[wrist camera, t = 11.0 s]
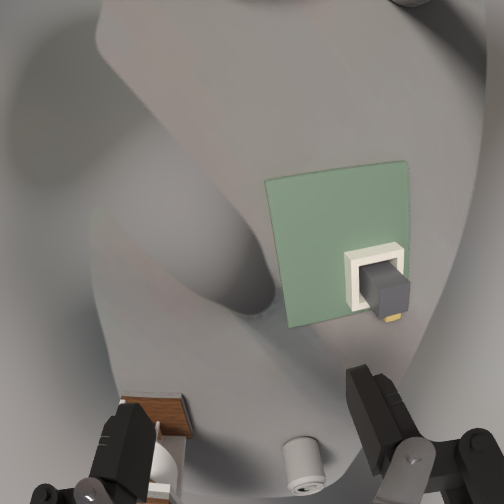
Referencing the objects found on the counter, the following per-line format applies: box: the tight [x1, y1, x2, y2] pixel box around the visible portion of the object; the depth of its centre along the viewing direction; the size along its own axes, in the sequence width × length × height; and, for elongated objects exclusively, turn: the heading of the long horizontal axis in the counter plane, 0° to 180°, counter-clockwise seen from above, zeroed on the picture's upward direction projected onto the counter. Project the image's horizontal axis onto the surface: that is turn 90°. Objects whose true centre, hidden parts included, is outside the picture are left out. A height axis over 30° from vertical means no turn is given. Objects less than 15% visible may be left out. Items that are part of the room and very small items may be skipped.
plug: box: [359, 260, 410, 322], centre depth 36 cm, size 5×4×7 cm
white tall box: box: [119, 391, 193, 504], centre depth 33 cm, size 11×11×35 cm
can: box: [282, 437, 326, 496], centre depth 50 cm, size 8×8×12 cm
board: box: [264, 161, 410, 328], centre depth 37 cm, size 20×18×4 cm
